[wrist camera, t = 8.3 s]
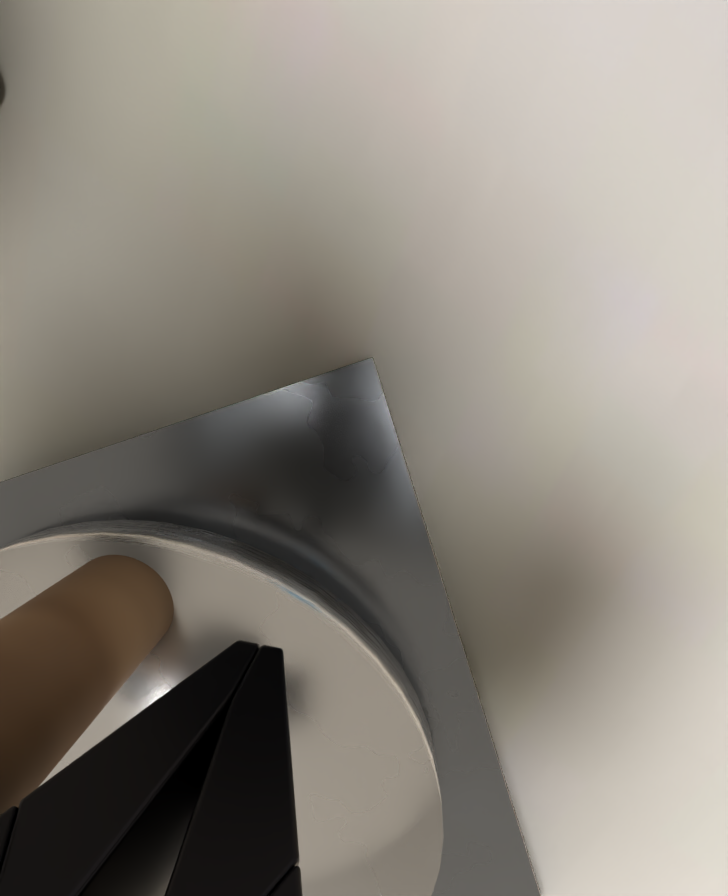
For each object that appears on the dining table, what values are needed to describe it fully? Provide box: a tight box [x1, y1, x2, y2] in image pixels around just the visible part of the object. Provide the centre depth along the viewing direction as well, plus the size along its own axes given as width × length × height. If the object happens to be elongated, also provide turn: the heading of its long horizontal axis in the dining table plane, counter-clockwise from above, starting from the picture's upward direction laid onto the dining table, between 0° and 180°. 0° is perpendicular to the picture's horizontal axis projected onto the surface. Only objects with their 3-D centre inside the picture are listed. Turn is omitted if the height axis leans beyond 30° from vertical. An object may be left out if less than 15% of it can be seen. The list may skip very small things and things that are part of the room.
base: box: [0, 358, 541, 896], centre depth 10 cm, size 19×19×4 cm
